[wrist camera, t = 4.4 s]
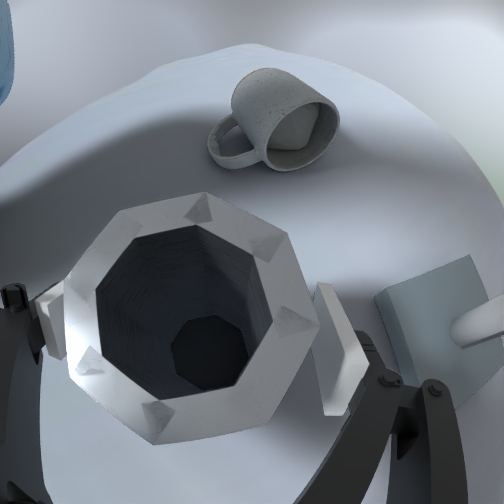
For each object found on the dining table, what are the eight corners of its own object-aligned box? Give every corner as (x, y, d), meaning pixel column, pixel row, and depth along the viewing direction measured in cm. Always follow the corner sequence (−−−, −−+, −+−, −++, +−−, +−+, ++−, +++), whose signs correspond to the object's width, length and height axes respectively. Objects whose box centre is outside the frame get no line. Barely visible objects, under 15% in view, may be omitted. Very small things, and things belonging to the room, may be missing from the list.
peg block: (373, 297, 19) (436, 247, 12) (457, 263, 21) (510, 220, 14) (414, 426, 15) (491, 429, 8) (492, 365, 17) (555, 344, 10)
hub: (146, 311, 18) (66, 224, 8) (248, 289, 19) (266, 180, 9) (168, 415, 15) (86, 447, 5) (278, 391, 16) (343, 397, 6)
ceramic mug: (285, 114, 29) (295, 56, 22) (329, 160, 26) (351, 97, 19) (195, 138, 26) (188, 73, 19) (229, 194, 23) (228, 121, 16)
